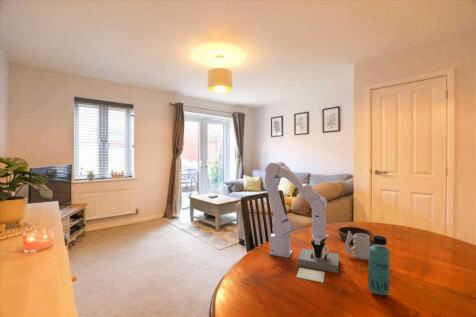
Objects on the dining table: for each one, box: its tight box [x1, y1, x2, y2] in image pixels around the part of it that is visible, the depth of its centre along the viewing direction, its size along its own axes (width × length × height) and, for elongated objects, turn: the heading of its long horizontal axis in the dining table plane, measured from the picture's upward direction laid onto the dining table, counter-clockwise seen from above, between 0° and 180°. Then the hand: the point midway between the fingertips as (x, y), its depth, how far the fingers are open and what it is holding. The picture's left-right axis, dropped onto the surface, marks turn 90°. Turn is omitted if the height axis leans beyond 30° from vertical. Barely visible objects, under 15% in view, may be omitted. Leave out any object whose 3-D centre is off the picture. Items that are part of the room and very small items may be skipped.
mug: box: [344, 231, 371, 261], centre depth 112 cm, size 8×12×12 cm, turn 93°
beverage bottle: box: [367, 235, 391, 296], centre depth 83 cm, size 6×7×20 cm
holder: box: [297, 248, 340, 274], centre depth 106 cm, size 16×12×3 cm
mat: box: [295, 267, 326, 284], centre depth 96 cm, size 10×8×1 cm
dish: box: [337, 226, 375, 246], centre depth 133 cm, size 18×22×5 cm
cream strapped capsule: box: [310, 241, 330, 261], centre depth 106 cm, size 7×5×9 cm
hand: (318, 255), depth 106 cm, fingers closed on cream strapped capsule, 5 cm apart
